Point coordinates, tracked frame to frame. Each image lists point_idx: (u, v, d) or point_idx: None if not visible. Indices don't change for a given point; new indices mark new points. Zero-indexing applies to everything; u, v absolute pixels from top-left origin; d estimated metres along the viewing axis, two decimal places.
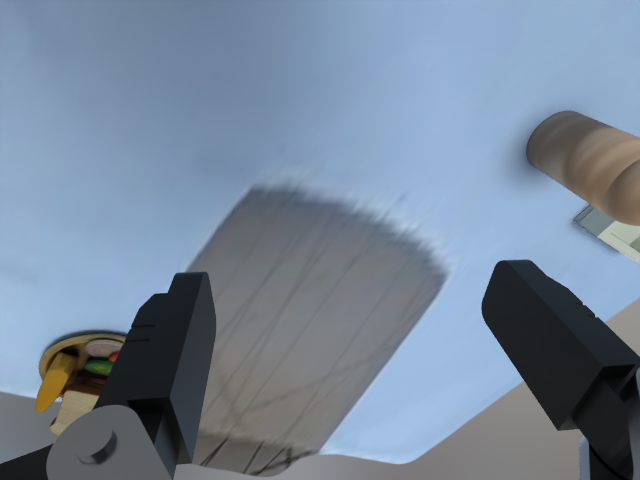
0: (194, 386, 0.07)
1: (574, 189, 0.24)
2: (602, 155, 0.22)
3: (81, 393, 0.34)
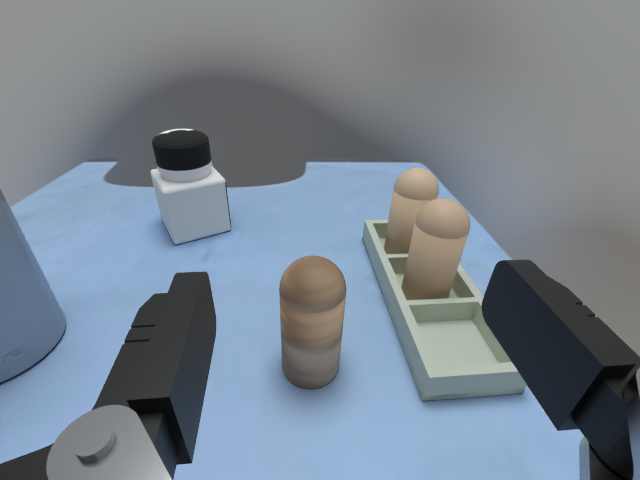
0: (194, 386, 0.07)
1: (301, 339, 0.24)
2: None
3: None
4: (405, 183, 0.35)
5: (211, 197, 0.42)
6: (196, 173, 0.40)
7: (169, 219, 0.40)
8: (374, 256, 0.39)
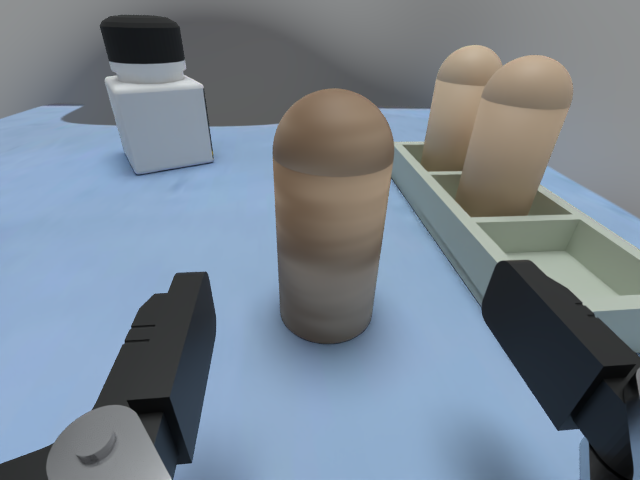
0: (194, 386, 0.07)
1: (313, 242, 0.13)
2: None
3: None
4: (456, 63, 0.25)
5: (185, 108, 0.31)
6: (161, 71, 0.29)
7: (126, 135, 0.29)
8: (408, 180, 0.28)
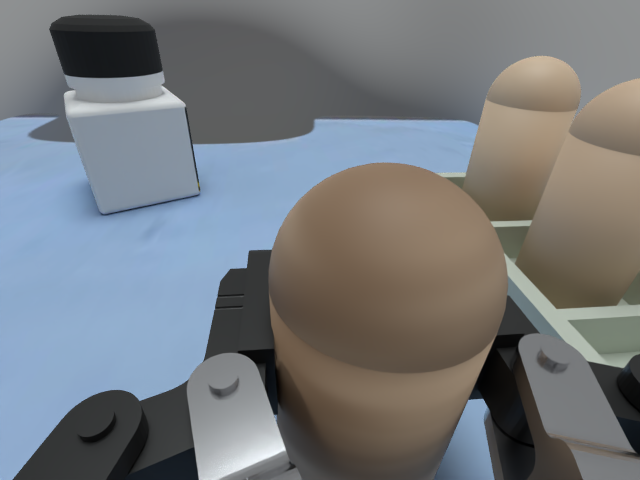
0: None
1: (346, 454, 0.07)
2: None
3: None
4: (519, 81, 0.18)
5: (162, 132, 0.25)
6: (130, 86, 0.23)
7: (85, 167, 0.23)
8: None
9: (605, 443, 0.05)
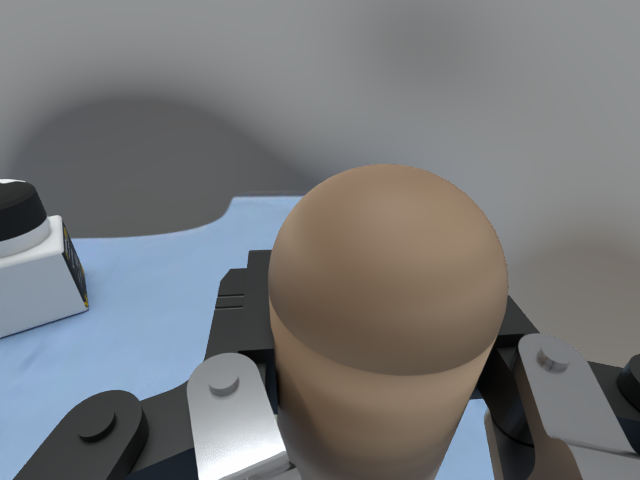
0: None
1: (346, 456, 0.07)
2: None
3: None
4: None
5: (42, 274, 0.30)
6: (9, 245, 0.28)
7: None
8: None
9: (605, 443, 0.05)
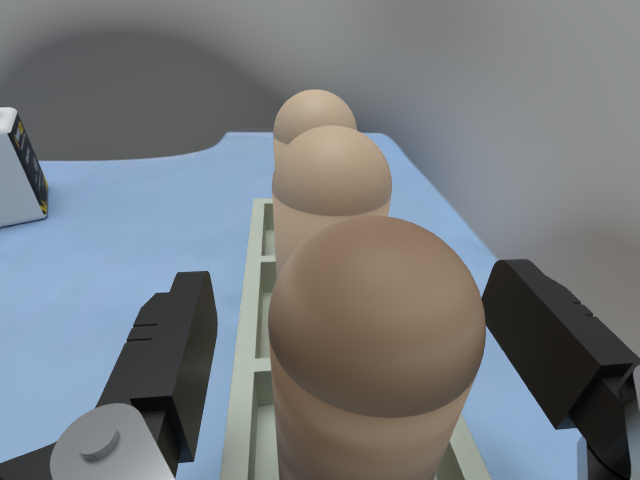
0: (196, 385, 0.07)
1: None
2: None
3: None
4: (284, 116, 0.18)
5: None
6: None
7: None
8: None
9: None
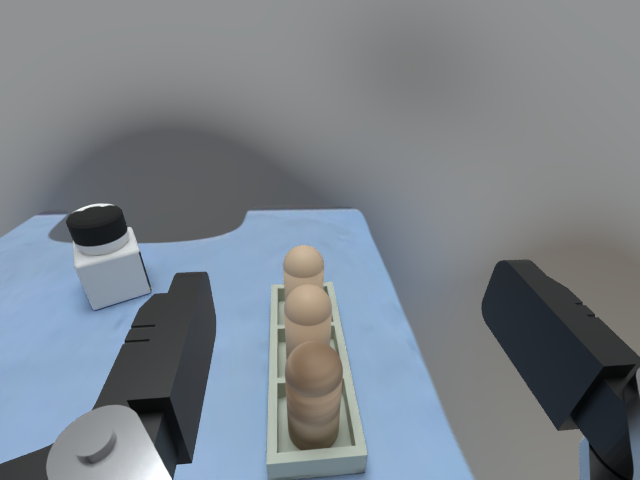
0: (194, 386, 0.07)
1: (304, 416, 0.28)
2: (285, 384, 0.29)
3: None
4: (288, 262, 0.38)
5: (126, 266, 0.45)
6: (108, 247, 0.43)
7: (84, 289, 0.44)
8: None
9: None
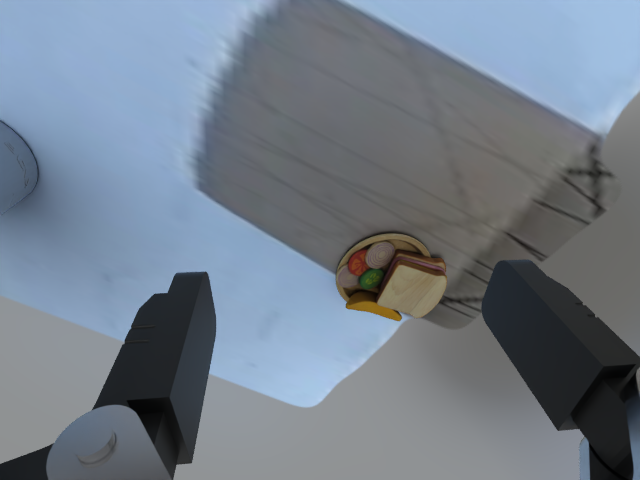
0: (194, 386, 0.07)
1: None
2: None
3: (380, 297, 0.44)
4: None
5: None
6: None
7: None
8: None
9: None
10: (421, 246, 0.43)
